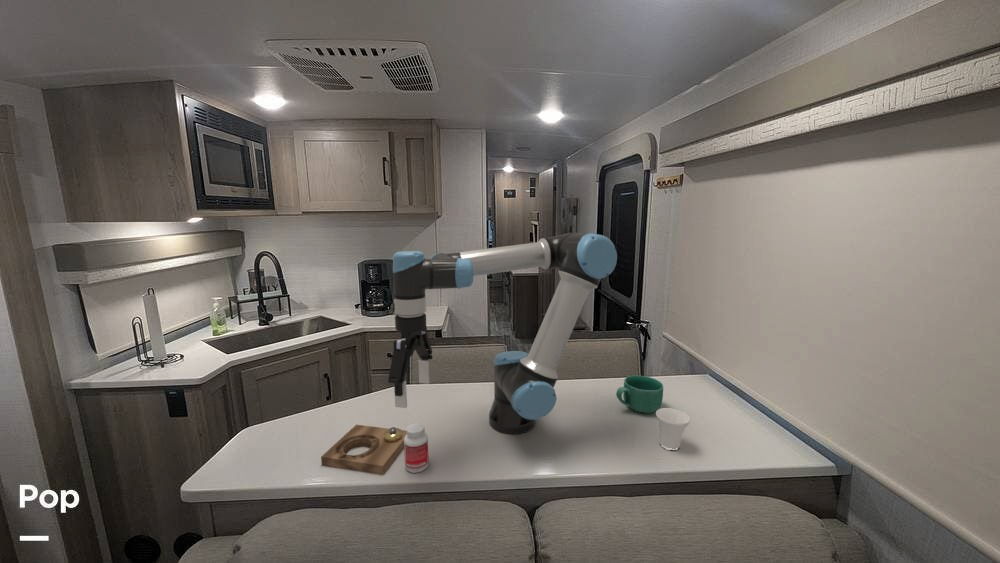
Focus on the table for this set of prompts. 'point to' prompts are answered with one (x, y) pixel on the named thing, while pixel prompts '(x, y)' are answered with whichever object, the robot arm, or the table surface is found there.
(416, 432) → the pill bottle
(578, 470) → the table surface
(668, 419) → the cup
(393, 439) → the disc
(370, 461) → the carrier plate
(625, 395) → the mug
